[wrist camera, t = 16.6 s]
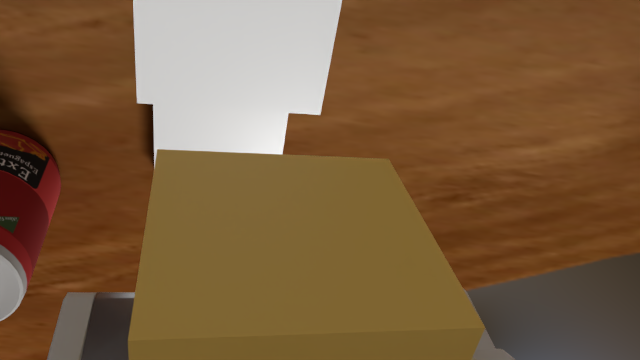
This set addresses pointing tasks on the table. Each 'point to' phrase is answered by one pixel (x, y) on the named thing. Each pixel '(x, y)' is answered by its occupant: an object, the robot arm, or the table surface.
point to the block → (292, 264)
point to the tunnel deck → (231, 69)
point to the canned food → (23, 212)
